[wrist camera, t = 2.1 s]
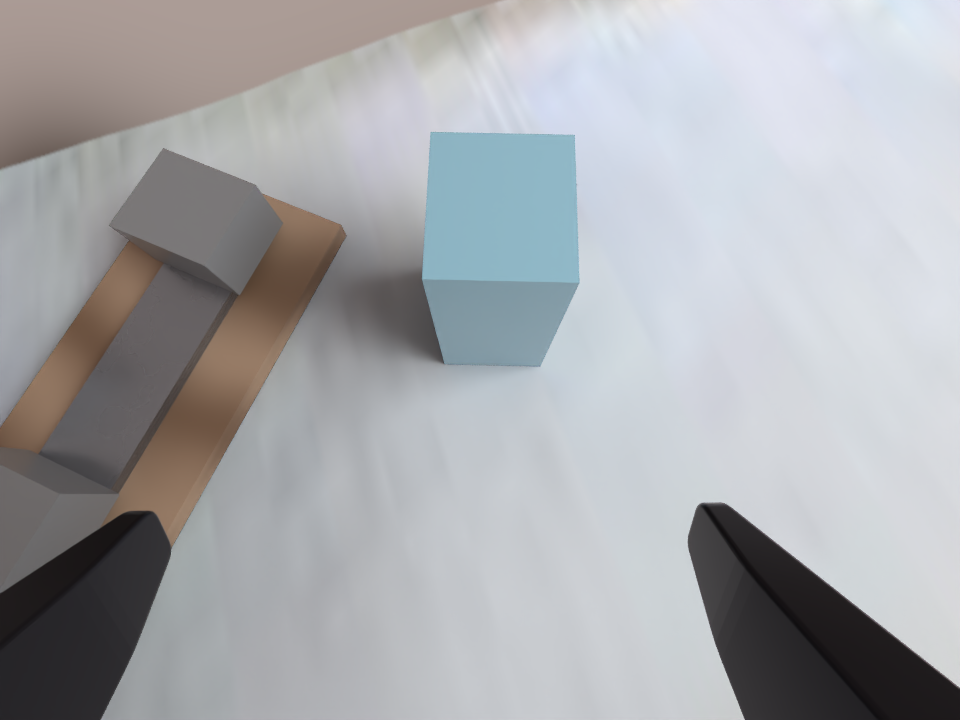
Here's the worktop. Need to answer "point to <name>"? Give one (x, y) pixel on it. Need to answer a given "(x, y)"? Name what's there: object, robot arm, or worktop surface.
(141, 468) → the board
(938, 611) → the worktop surface
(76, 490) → the mounted modules
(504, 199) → the block
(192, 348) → the rail
